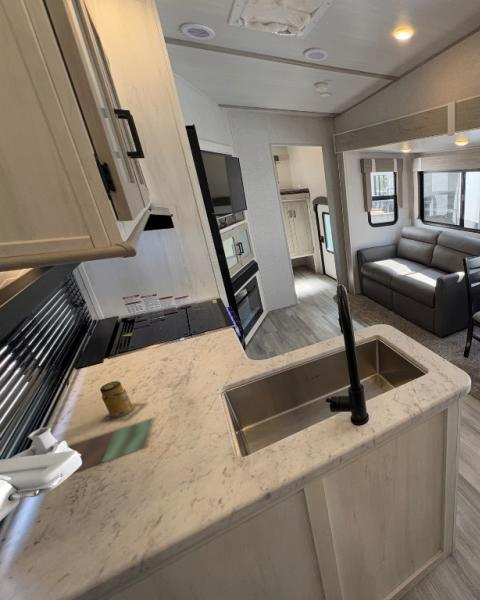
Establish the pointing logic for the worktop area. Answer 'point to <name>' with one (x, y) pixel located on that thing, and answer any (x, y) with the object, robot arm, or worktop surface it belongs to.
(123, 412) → the condiment
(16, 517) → the worktop surface
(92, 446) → the sorting board
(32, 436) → the flask
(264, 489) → the worktop surface
